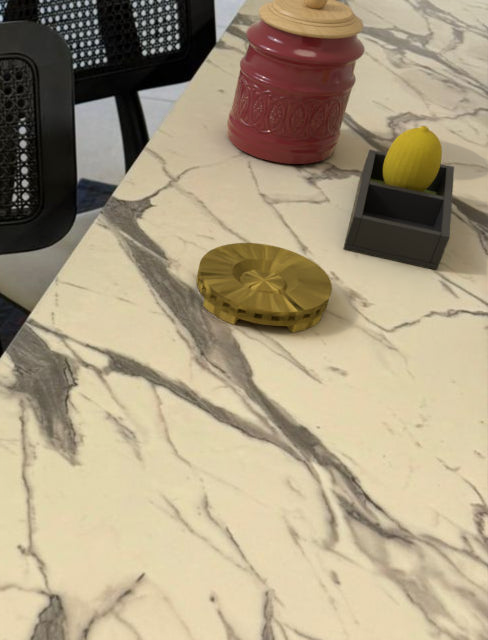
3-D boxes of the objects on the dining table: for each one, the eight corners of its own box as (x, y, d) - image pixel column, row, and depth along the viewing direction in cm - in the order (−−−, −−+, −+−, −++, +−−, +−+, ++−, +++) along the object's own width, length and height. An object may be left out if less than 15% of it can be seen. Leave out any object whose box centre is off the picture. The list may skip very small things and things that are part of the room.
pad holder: (442, 197, 113) (454, 166, 110) (436, 270, 100) (449, 237, 98) (359, 179, 115) (369, 149, 112) (343, 249, 102) (353, 216, 100)
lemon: (392, 182, 113) (417, 111, 107) (436, 202, 110) (463, 130, 104) (363, 194, 110) (386, 122, 105) (406, 215, 107) (432, 142, 102)
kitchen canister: (225, 114, 126) (258, -41, 114) (331, 128, 125) (375, -26, 113) (223, 157, 117) (258, -7, 105) (338, 173, 115) (386, 9, 104)
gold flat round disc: (194, 322, 90) (199, 301, 89) (194, 256, 99) (198, 235, 97) (331, 341, 89) (338, 320, 88) (319, 272, 98) (325, 252, 97)
